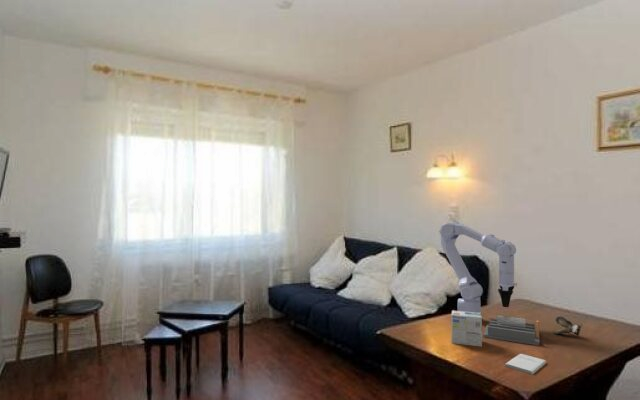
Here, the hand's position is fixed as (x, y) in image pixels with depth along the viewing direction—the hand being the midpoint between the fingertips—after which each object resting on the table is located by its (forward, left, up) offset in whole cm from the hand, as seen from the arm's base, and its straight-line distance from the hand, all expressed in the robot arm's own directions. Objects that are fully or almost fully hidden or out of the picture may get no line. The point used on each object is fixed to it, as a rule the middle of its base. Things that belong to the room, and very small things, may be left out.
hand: (506, 304), depth 168 cm
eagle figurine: (+22, +2, -10) cm, 24 cm away
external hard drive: (+8, -38, -10) cm, 40 cm away
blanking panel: (+2, -10, -8) cm, 13 cm away
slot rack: (+2, -10, -9) cm, 14 cm away
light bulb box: (-12, -26, -10) cm, 30 cm away
